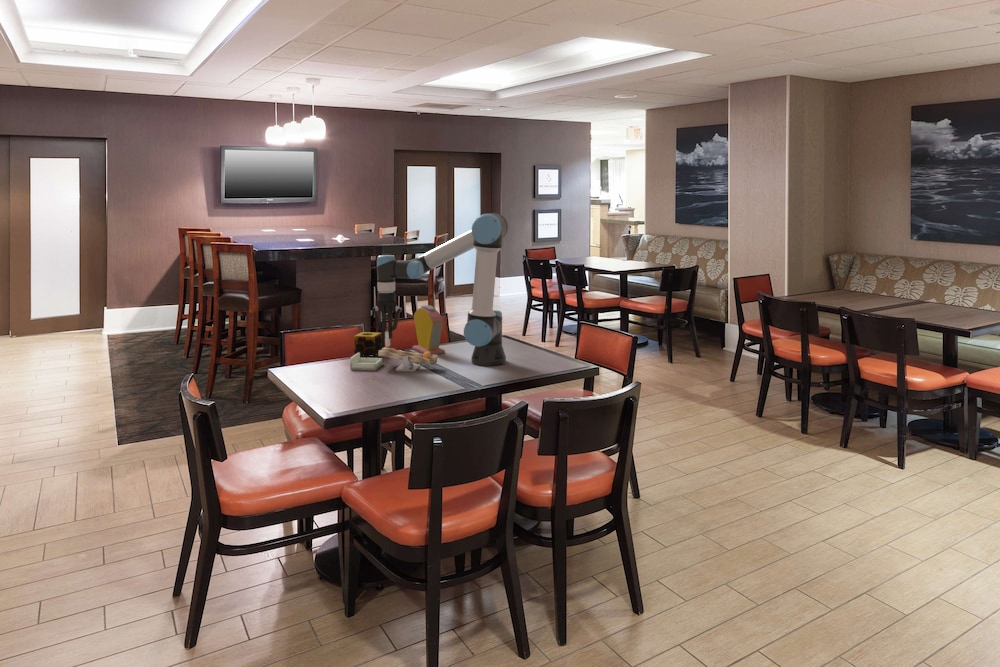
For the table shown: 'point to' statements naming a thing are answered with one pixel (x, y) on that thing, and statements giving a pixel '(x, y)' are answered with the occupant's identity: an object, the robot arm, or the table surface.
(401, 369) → the fulcrum
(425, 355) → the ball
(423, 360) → the beige piece
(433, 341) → the pink yellow-faced device
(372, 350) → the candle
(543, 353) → the table surface
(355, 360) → the tray
